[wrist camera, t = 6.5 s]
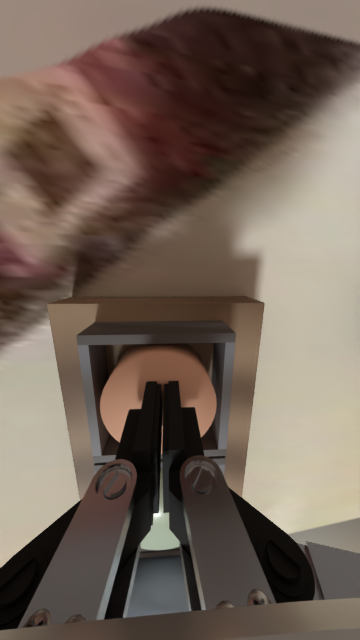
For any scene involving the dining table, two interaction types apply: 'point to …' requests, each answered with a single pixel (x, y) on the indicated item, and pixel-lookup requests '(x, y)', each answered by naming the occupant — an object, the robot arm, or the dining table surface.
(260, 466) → the dining table surface
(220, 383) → the button panel
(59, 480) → the dining table surface
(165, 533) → the button green
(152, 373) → the button terracotta
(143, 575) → the button blue
